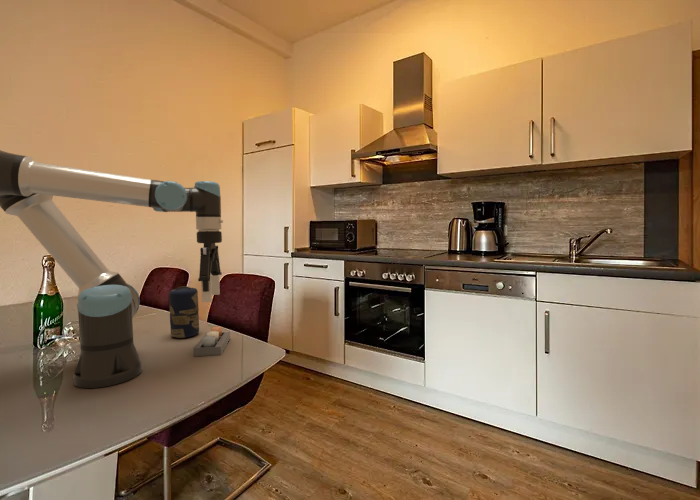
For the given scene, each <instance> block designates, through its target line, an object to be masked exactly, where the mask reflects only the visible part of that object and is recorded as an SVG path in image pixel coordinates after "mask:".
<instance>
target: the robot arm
mask: <svg viewBox="0 0 700 500" xmlns="http://www.w3.org/2000/svg"><path fill="white" fill-rule="evenodd" d="M53 197H63V198H69V199H72V198H73V199H79V200H86V201H87V200H88V201H96V202H103V203H104V202H105V203H112V204H122V205H130V206H136V207H146V208H152V209H153V210H154V211H155V212H159V213H160V212H162V213H170V212H171V213H173V212H174V213H183V212H184V213H185V212H187V213H189V212H190V213H193V212H195V229H196V230H198V231H196V243H197V244H203V247H200V259H199V261H200V263H199V276H198V278H197V280H198V282H200V283H201V285H200V286H201V302H202V303H212V302H213V299H212V297H213V296H214V295H215V296H216V295H217V296H220V294H221V293H220V291H221V290H220V288H221V287H220V285H221V284H220V276H222V271H221V264H220V256H219V245H216V244H219V243H222V241H223V238H222V237H223V235H222V234H223V233H222V231H220V230H222V224H223V223H224V221H223V219H222V218H221V217H222V208H221V207H222V201H221V200H222V198H221V197H222V196H221V186H220V184H219V183H218V182H216V181H210V180H209V181H208V180H204V181H201V180H200V181H196V182H195V183H194V186H193V187H184V186H183V185H182V184H181V183H178V182H177V181H173V180H165V181H163V180H156V179H151V178H145V177H138V176H133V175H132V176H131V175H125V174H119V173H118V174H117V173H112V172H105V171H98V170H91V169H86V168H79V167H72V166H71V167H70V166H67V165H59V164H51V163H45V162H44V163H43V162H39V161H35V159H33V158H32V157H31V156H28V155H21V154H15V153H11V152H7V151H4V150H0V208H1V209H2V210H3V212H4V213H5V214H7V215H9V216H15V217H18V218H19V220H20V221H21V222H22V223H23V225H25V227H26V228H27V229H28V230H29V231H30V233H32V235H33V236H34V237H35V238H36V240H37V241H38V242H39V243H40V245H41V246H43V248H44V249H45V250H46V252H47V253H48V254H49V255H50V256H51V257H52V258H53V260H54V261H55V262H56V263H57V264H58V265H59V266H60V268H61V269H62V270H63V272H64V273H66V275H67V276H68V277H69V279H70V280H71V281H72V282H73V284H75V286H76V287H77V288H78V293H77V303H76V307H77V308H76V309H77V314H78V316H77V317H78V328H79V329H78V330H79V331H78V332H79V343H80V353H79V356H78V359H77V362H76V366H75V369H74V371H73V375H72V376H73V377H72V378H73V385H74V386H75V387H77V388H83V389H93V388H94V389H97V388H104V387H110V386H114V385H117V384H122V383H124V382H127V381H129V380H132V379H134V378H136V377H137V376H139V375H140V374H141V373H142V372H143V362H142V360H141V357H140V354H139V353H138V350H137V348H136V346H135V344H134V327H133V318H134V316H135V315H136V314H137V313H138V311H139V309H140V302H141V300H140V296H139V295H140V294H139V293H138V291H137V289H136V288H135V287H133V286H132V285H131V284H129V283H127V281H125V279H124V278H123V277H122V276H121V274H120V273H119V272H117V271H111V270H109V268H108V267H107V266H106V265H105V264H104V263H103V262H102V260H101V259H100V258H99V256H98V255H97V254H96V252H94V250H93V249H92V248H91V246H90V245H89V244H88V243H87V242H86V241H85V239H84V238H83V237H82V235H81V234H80V233H79V232H78V231H77V229H76V228H75V227H74V226H73V224H72V223H71V222H70V220H69V219H68V218H67V217H66V216H65V214H63V212H62V210H61V209H60V208H59V207H58V206H57V205H56V204H55V202H54V201H53V199H54V198H53Z"/></svg>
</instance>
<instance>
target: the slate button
mask: <svg viewBox="0 0 700 500" xmlns="http://www.w3.org/2000/svg"><path fill="white" fill-rule="evenodd" d="M202 337H203V336H202ZM213 346H215V336H206V337H203V347H213Z"/></svg>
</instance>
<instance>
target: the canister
mask: <svg viewBox="0 0 700 500" xmlns="http://www.w3.org/2000/svg"><path fill="white" fill-rule="evenodd" d="M168 299H169V300H168V301H169V302H168V303H169V324H170V336H172V337H174V338H177V339H181V338H182V339H183V338H190V337H194V336H196V335H197V334H199V332H200V320H199V319H200V316H199V311H200V309H199V291H198V289H197V288H194V287H189V286H186V285H185V286H184V285H183V286H178V287H176V288H174V289H170V290H169V292H168Z"/></svg>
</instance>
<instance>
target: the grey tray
mask: <svg viewBox="0 0 700 500" xmlns="http://www.w3.org/2000/svg"><path fill="white" fill-rule="evenodd" d="M207 333H208V332H206V333H204V335H203V336H202V337H201V338H200V340H199V341H198V342H197V344H195V346H194V347H193V351H192V352H193V354H192V355H193V357H203V356H204V357H206V356H221V355H222V354H223V353H224V351H225V349H226V347H227V346H226V345H228V344H229V342H230V340H231V332H230V331H222V335H221V336H219V340H218V341H215V346H213V347H203V337H206V336H207ZM229 339H230V340H229ZM228 341H229V342H228ZM227 343H228V344H227ZM223 350H224V351H223Z"/></svg>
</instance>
